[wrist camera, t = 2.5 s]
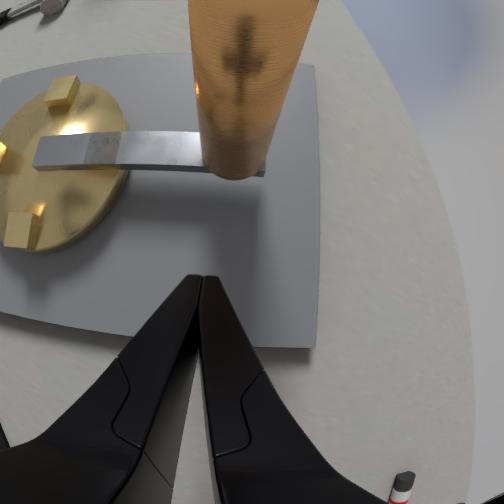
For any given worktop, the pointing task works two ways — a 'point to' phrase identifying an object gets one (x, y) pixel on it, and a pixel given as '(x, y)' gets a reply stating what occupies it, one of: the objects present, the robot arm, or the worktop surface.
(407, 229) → the worktop surface
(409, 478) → the marker
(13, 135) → the brass wheel crank mechanism
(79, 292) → the grey rectangular board
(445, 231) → the worktop surface
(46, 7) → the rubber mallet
